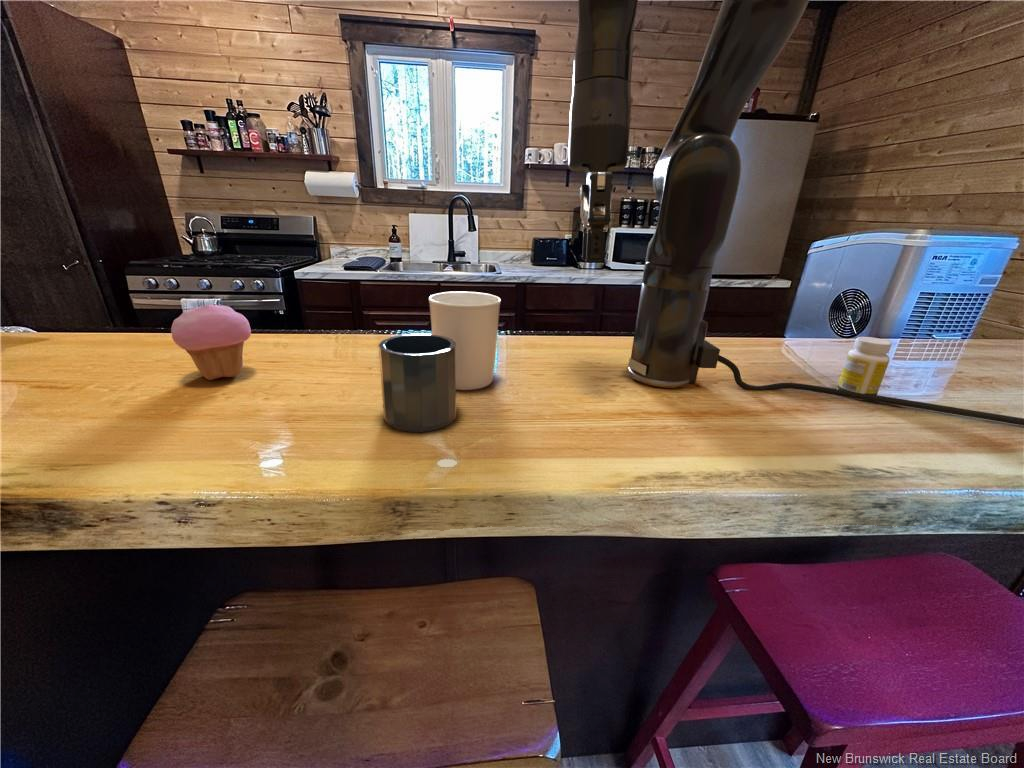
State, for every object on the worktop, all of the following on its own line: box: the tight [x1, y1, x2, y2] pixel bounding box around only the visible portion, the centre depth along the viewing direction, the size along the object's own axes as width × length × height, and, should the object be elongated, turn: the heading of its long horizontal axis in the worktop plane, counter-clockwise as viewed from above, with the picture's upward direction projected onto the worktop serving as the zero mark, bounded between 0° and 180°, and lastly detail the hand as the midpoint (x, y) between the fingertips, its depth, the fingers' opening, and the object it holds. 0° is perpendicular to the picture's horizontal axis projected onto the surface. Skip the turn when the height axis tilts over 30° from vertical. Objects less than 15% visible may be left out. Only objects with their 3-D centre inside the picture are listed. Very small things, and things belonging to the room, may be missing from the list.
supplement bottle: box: [836, 336, 893, 401], centre depth 63 cm, size 5×5×8 cm
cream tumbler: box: [427, 291, 502, 391], centre depth 62 cm, size 10×10×12 cm
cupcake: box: [170, 304, 252, 381], centre depth 59 cm, size 9×9×10 cm
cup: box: [378, 333, 458, 433], centre depth 51 cm, size 8×8×9 cm
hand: (592, 260), depth 60 cm, fingers open, 8 cm apart
